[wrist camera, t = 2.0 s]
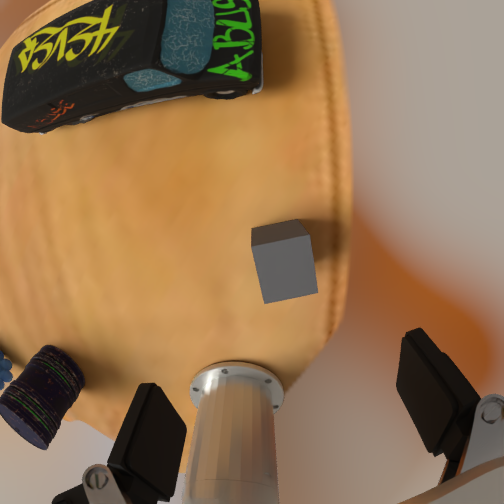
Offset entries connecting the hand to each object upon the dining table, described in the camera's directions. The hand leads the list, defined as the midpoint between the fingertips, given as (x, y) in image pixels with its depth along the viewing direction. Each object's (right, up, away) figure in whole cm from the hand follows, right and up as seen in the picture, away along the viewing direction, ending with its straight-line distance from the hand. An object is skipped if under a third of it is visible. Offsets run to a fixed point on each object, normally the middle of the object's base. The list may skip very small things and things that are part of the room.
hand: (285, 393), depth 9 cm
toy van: (-13, +24, +12) cm, 30 cm away
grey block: (+1, +6, +18) cm, 19 cm away
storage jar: (-33, -14, +25) cm, 44 cm away
